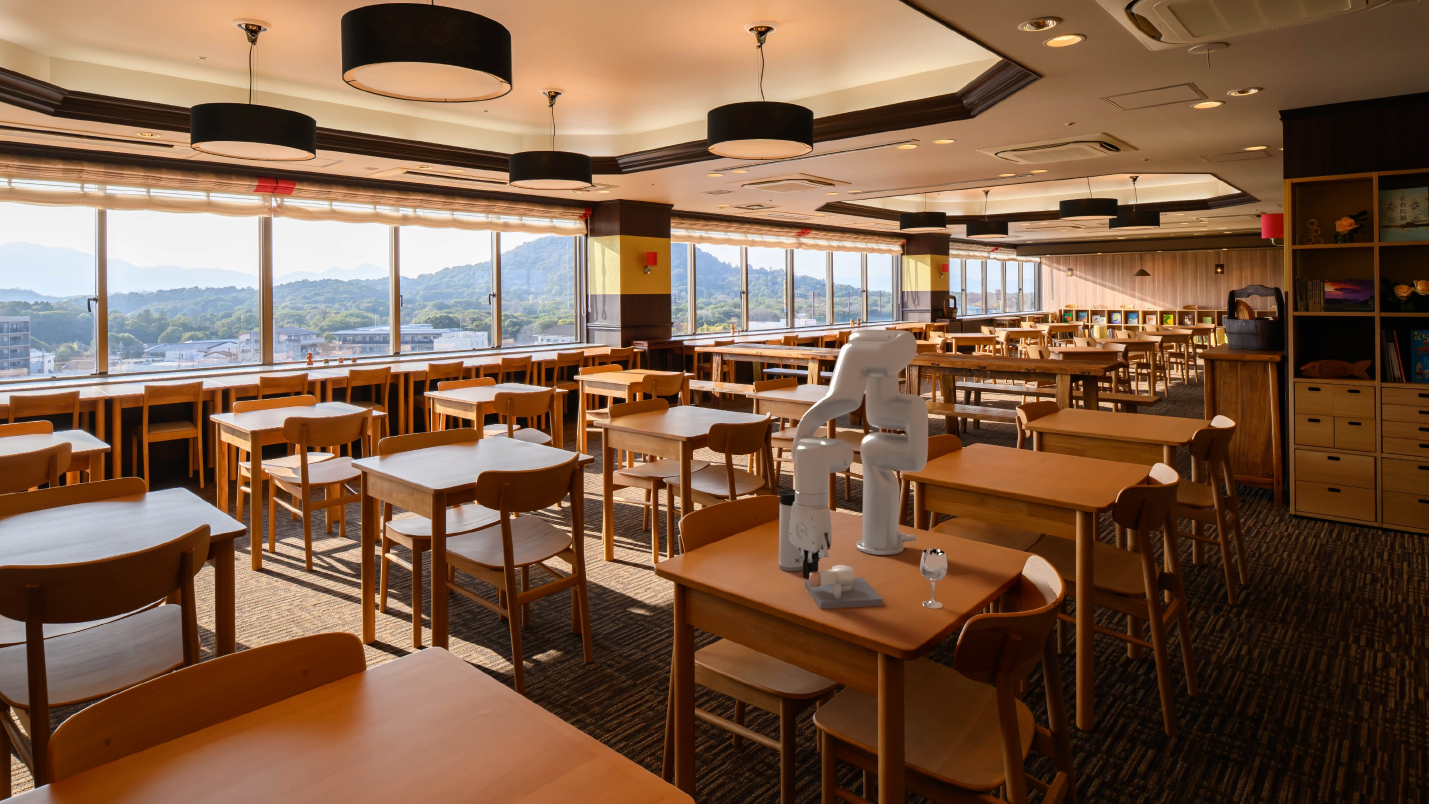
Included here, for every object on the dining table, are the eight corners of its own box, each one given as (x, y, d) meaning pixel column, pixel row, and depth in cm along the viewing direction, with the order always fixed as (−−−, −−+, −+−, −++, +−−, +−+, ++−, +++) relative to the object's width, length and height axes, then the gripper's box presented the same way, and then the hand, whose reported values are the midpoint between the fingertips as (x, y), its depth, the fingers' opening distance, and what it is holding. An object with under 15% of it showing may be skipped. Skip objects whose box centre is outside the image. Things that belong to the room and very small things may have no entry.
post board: (862, 583, 187) (862, 564, 186) (882, 605, 173) (883, 585, 172) (804, 585, 185) (805, 567, 184) (820, 608, 171) (820, 588, 171)
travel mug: (804, 572, 194) (805, 493, 191) (777, 570, 195) (778, 492, 193) (806, 564, 200) (807, 487, 198) (780, 562, 201) (781, 486, 199)
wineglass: (915, 600, 176) (916, 548, 175) (940, 599, 176) (942, 547, 175) (924, 610, 170) (925, 556, 169) (949, 609, 171) (951, 555, 169)
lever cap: (845, 576, 182) (845, 563, 181) (858, 583, 177) (858, 570, 177) (804, 583, 177) (804, 570, 177) (816, 591, 173) (816, 577, 172)
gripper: (778, 493, 181) (777, 570, 183) (820, 508, 168) (818, 590, 171) (803, 489, 185) (802, 565, 187) (846, 503, 172) (845, 584, 175)
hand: (810, 577), depth 179 cm, fingers closed
